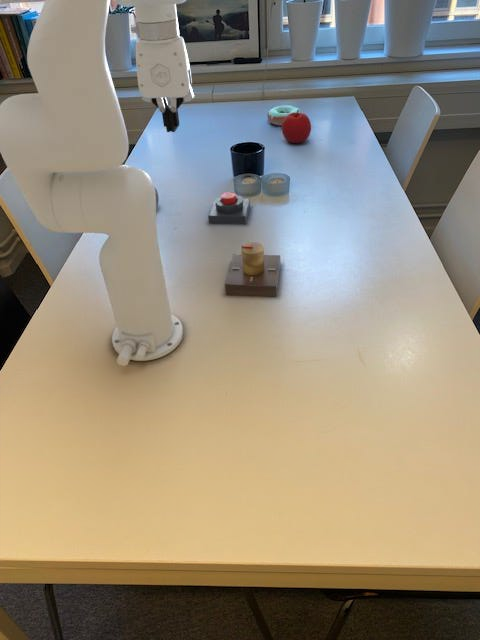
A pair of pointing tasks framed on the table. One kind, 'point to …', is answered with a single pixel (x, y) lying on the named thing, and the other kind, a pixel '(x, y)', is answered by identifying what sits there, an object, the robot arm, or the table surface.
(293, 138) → the apple
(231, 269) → the panel
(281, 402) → the table surface
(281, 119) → the donut
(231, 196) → the button
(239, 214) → the button block
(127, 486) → the table surface
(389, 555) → the table surface
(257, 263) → the knob
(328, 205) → the table surface
